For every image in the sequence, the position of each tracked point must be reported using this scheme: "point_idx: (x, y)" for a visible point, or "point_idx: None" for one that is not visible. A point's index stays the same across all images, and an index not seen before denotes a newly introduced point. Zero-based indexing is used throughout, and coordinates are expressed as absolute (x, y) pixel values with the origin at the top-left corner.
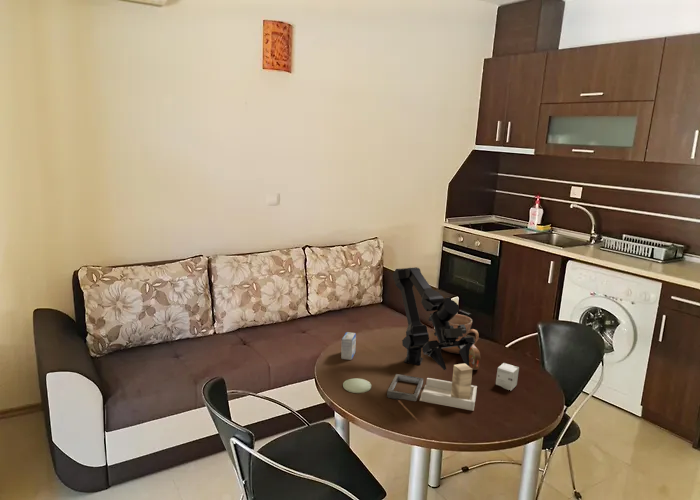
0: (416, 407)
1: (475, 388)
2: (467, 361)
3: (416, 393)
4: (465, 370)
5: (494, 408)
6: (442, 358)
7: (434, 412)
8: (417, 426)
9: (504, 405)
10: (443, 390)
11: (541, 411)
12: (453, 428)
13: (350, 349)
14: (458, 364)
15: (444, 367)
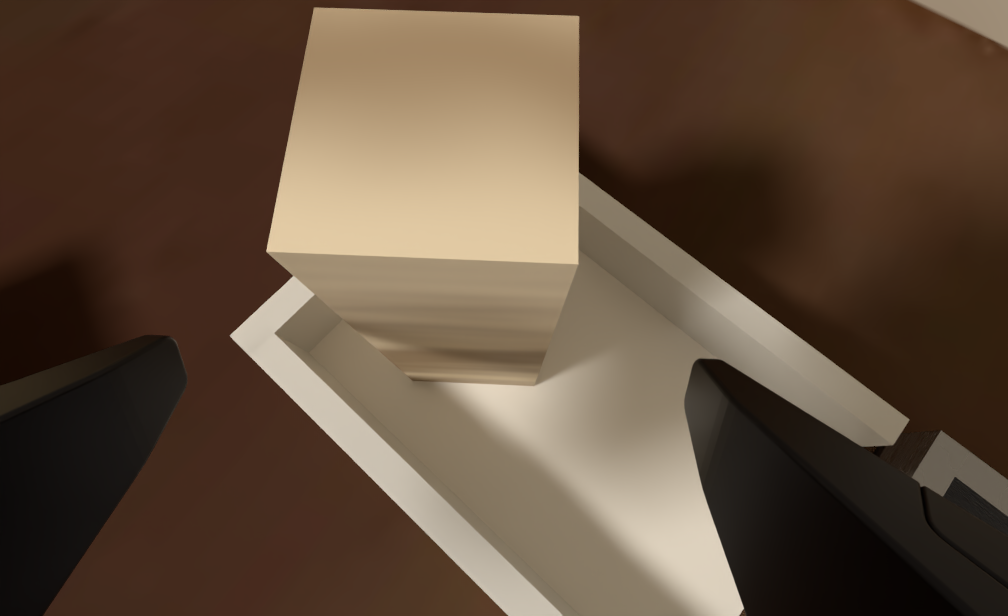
0: (904, 366)
1: (284, 298)
2: (99, 367)
3: (920, 484)
4: (476, 22)
5: None
6: (875, 503)
7: (781, 250)
8: (982, 140)
9: (192, 157)
10: (527, 532)
11: (30, 22)
12: (740, 50)
13: None
14: (453, 247)
15: (744, 374)
